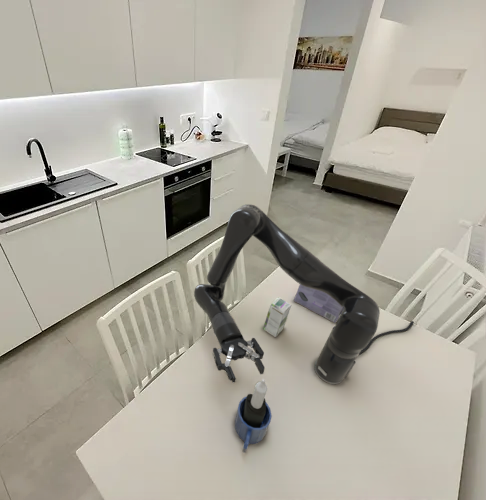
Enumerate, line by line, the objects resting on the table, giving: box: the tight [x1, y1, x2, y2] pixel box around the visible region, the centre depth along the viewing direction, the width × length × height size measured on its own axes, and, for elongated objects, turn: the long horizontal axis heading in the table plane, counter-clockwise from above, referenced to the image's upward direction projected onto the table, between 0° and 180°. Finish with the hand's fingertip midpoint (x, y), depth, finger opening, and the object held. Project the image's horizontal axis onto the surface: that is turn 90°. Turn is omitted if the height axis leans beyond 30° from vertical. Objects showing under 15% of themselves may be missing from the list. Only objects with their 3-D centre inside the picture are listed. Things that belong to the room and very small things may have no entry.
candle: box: [241, 378, 268, 428], centre depth 76 cm, size 5×5×25 cm
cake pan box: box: [293, 284, 342, 324], centre depth 115 cm, size 19×5×18 cm, turn 49°
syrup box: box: [263, 297, 292, 338], centre depth 107 cm, size 6×6×14 cm
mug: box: [234, 395, 273, 454], centre depth 80 cm, size 12×9×10 cm
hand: (248, 376), depth 78 cm, fingers open, 8 cm apart
